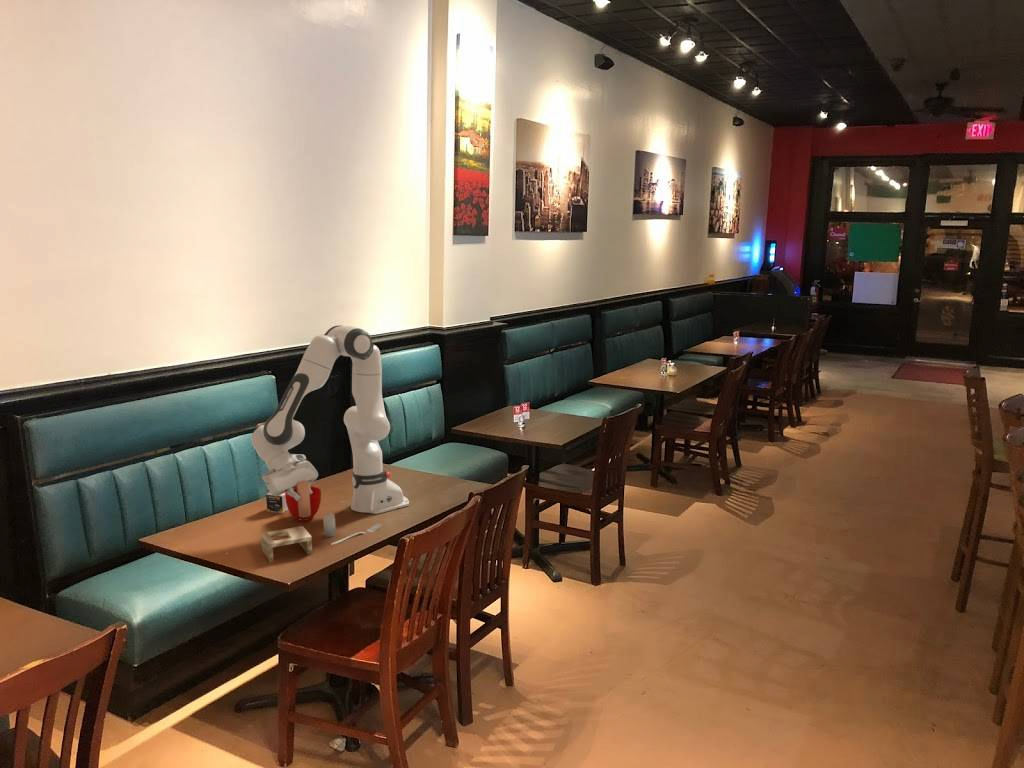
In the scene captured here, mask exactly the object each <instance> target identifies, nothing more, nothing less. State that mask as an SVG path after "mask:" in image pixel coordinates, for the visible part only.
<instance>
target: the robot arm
mask: <svg viewBox="0 0 1024 768" xmlns="http://www.w3.org/2000/svg"><path fill="white" fill-rule="evenodd" d="M340 356H343V357H350V359H351V362H352V368H351V371H352V373H351V377H352V378H351V394H352V397H353V399H354V402H355V405H353V406H351V407H349V408H348V409H346V411H345V412H344V415H343V423H344V425H345V426H346V429H347V433H348V438H349V442H350V446H351V451H352V462H353V463H352V466H353V471H352V480H351V481H352V486H353V491H352V492H353V494H352V499H351V505H350V509H351V510H352V511H355V512H357V513H368V514H375V515H377V514H382V513H385V512H389V511H394V510H396V509H397V508H398V509H402V508H405V507H408V506H409V505H410V501H409V499H408V498H407V497H406V496H404V494H403V490H402V488H401V487H400V486H399V485H398V484H396V483H395V482H394V481H392V480H390V479H391V478H392V477H393V476H392V473H391V472H389V471H387V470H385V469H383V467H384V466H383V451H382V448H381V446H380V444H379V441H382V440H384V439H386V437H387V436H388V435H389V433H390V431H391V424H390V421H389V419H388V417H387V414H386V410H385V409H386V408H385V404H384V399H383V373H382V372H383V370H382V369H383V366H382V364H383V363H382V356H381V351H380V349H379V347H378V346H377V345H375V344H374V343H373V340H372V336H371V335H370V334H369V333H368V332H367V331H366V330H364V329H362V328H358V327H356V326H350V325H333V326H331V327H330V328H329V329H327V330H326V332H325V333H324V334H318V335H316V336H314V337H313V338H312V339H311V341H310V343H309V344H308V346H307V348H306V350H305V352H304V353H303V356H302V358H301V361H300V363H299V365H298V367H297V370H296V372H295V374H294V375H293V376H292V379H291V380H290V382H289V383H288V386H287V387H286V389H285V391H284V393H283V395H282V397H281V400H280V402H279V403H278V405H277V407H276V409H275V411H274V412H273V413H272V414H271V415H270V416H269V417H268V418H267V419H266V421H265V422H264V424H262V425H260V426H259V427H257V428H256V429H255V430H254V431H253V432H252V434H251V435H250V442H251V444H252V446H253V448H254V450H255V452H256V453H257V454H258V456H259V457H260V459H262V460H263V461H264V462H265V466H266V467H267V468H268V471H265V472H264V473H263V474H262V477H261V478H262V481H264V483H265V485H266V487H267V489H268V491H269V492H270V493H271V494H272V495H273V496H275V497H276V496H279V495H281V494H283V493H286V492H287V493H288V495H290V496H292V497H294V498H295V500H296V501H297V500H300V499H301V495H300V494H299V493H298V494H297V493H296V492H294V491H293V490H294V489H296V488H297V482H300V481H308V483H309V495H311V494H312V493H313V492H312V490H311V489H310V486H311V484H312V483H313V482H315V481H316V480H317V479H318V477H319V472H318V470H317V469H316V468H315V466H314V465H313V464H312V463H311V462H310V461H309V460H307V457H306V455H305V454H303V453H302V454H296V453H295V454H294V453H290V452H289V451H288V450H291V449H293V448H294V447H296V446H299V445H300V444H301V443H302V442H303V440H304V439H305V437H306V430H305V429H306V428H305V426H304V425H303V424H302V422H300V421H298V420H295V419H294V417H295V415H296V413H297V411H298V409H299V406H300V404H301V403H302V402H303V401H302V400H303V399H304V398H305V396H306V395H307V394H309V393H311V392H313V391H315V390H319V389H321V388H322V387H324V385H325V384H326V382H327V381H328V379H329V378H330V374H331V372H332V370H333V366H334V364H335V362H336V360H337V359H338V358H339V357H340ZM398 509H397V510H398Z"/></svg>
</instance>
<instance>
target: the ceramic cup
mask: <svg viewBox="0 0 1024 768" xmlns="http://www.w3.org/2000/svg"><path fill="white" fill-rule="evenodd" d="M310 489H311V490H312V492H313V493H312V494H311V495H309V496H310V509H311V515H310V516H308V517H300V516H299V507H298V500H297V501H296V500H295V498H294V497H292V496H290V495H288V493H287V492H286V493H285V498H286V504H287V508H288V510H287V511H288V512H289V513H290V515H291V516H292V517H293V518H294V519H295V518H296V519H295V520H297V519H301V520H300V521H306V520H305V519H308V520H311V519H313V518H314V516H315V515H316V514H317V512H319V508H320V506H321V501H322V490H321V488H319V487H317V486H311V485H310ZM293 491H294V492H296V493H297V488H296V489H294V490H293ZM312 517H313V518H312ZM310 518H311V519H310Z"/></svg>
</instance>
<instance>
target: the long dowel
mask: <svg viewBox="0 0 1024 768" xmlns="http://www.w3.org/2000/svg"><path fill="white" fill-rule="evenodd" d="M298 493H299V494H300V495H301V499H300V500H298V507H299V516H300V517H308V516H310V515H311V509H310V496H309V483H308V481H300V482H297V494H298Z"/></svg>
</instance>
